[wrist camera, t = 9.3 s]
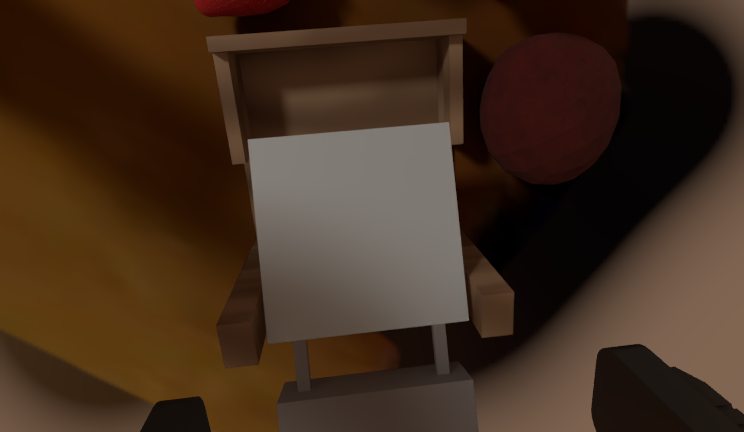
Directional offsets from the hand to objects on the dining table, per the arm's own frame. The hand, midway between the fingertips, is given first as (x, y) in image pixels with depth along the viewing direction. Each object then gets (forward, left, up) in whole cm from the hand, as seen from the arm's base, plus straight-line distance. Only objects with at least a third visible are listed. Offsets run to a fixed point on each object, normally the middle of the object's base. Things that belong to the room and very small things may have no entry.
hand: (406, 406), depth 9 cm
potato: (-2, +16, -31) cm, 35 cm away
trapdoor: (+7, 0, -20) cm, 21 cm away
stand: (+4, 0, -31) cm, 31 cm away
